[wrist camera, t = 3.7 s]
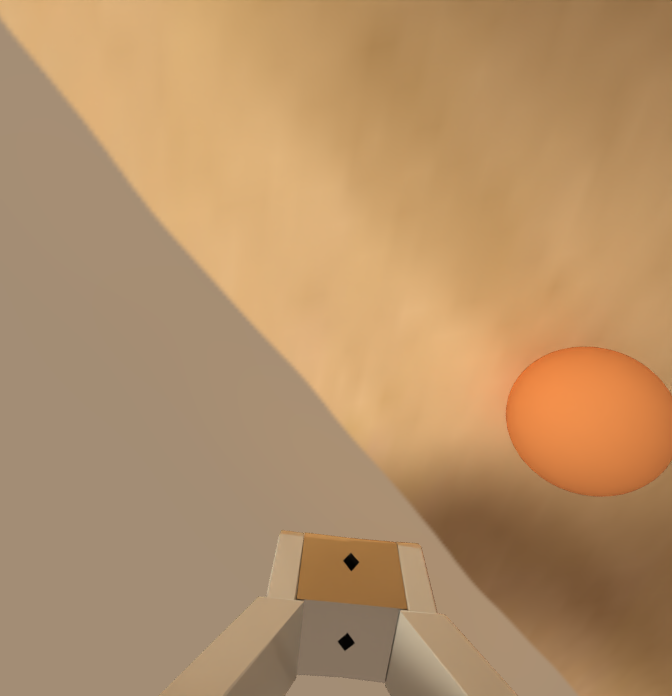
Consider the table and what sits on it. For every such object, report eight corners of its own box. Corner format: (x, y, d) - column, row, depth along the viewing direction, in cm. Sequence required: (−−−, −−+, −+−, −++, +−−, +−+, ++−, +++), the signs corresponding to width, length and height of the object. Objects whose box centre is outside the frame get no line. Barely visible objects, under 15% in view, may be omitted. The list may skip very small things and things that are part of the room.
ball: (473, 437, 19) (528, 525, 13) (502, 323, 17) (577, 373, 12) (589, 447, 19) (687, 537, 14) (628, 335, 17) (758, 390, 12)
